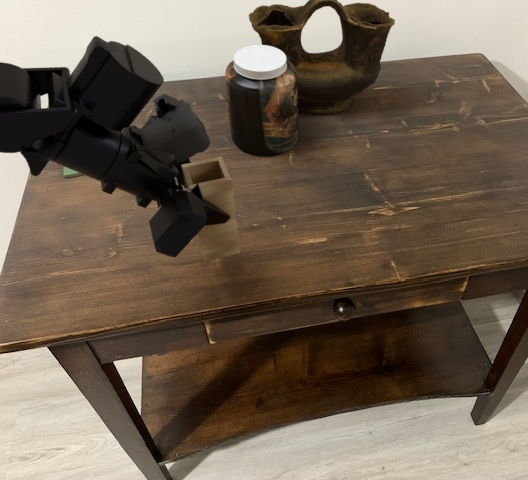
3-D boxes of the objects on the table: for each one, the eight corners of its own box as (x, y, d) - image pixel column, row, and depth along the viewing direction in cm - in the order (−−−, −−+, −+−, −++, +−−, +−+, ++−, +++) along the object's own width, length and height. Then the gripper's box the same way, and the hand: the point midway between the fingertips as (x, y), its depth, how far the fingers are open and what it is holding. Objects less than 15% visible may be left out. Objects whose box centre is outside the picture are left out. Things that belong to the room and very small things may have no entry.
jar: (226, 155, 90) (215, 75, 79) (236, 115, 98) (228, 37, 87) (295, 158, 90) (294, 79, 79) (300, 118, 98) (300, 41, 87)
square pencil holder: (203, 262, 68) (188, 188, 58) (196, 238, 70) (180, 164, 61) (240, 252, 69) (231, 179, 60) (231, 229, 72) (221, 156, 62)
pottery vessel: (257, 121, 97) (249, 14, 82) (253, 89, 104) (245, -15, 90) (390, 113, 100) (405, 8, 85) (377, 82, 107) (390, -20, 92)
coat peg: (64, 178, 85) (57, 161, 83) (64, 159, 88) (57, 142, 86) (97, 172, 86) (90, 155, 84) (96, 154, 90) (89, 137, 87)
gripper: (168, 151, 46) (291, 213, 57) (137, 49, 57) (244, 117, 68) (98, 236, 49) (226, 278, 60) (82, 124, 61) (192, 177, 72)
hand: (223, 206), depth 65 cm, fingers closed on square pencil holder, 4 cm apart
